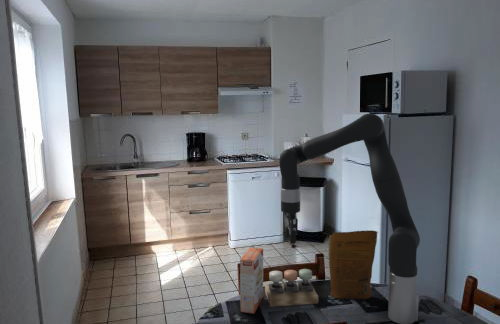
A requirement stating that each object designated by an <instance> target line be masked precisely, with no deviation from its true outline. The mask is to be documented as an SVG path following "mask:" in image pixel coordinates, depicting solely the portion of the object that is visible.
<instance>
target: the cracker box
mask: <svg viewBox="0 0 500 324" xmlns="http://www.w3.org/2000/svg"><path fill="white" fill-rule="evenodd" d="M239 262H240V263H239V272H240V273H239V278H240V279H239V282H240V283H239V285H240V287H239V288H240V289H239V292H240V294H239V295H240V296H239V297H240V299H239V300H240V304H239V305H240V313H245V314H253V315H254V314H255V313H256V311H257V309H259V308H258V307H259V305H261V304H260V303H261V302H262V300H263V298H264V248H262V247H249V248H248V249H247V250H246V252H245V253H244V255H242V257H241V258H240V260H239Z"/></svg>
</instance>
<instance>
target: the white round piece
mask: <svg viewBox="0 0 500 324" xmlns="http://www.w3.org/2000/svg"><path fill="white" fill-rule="evenodd" d="M268 274H269V281H270V282H272V283H273V285H274V286H278V285H279V283H281V282H282V281H283V276H284V275H283V274H284V272H282V271H280V270H272V271H269V273H268Z"/></svg>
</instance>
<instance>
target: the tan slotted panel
mask: <svg viewBox="0 0 500 324" xmlns="http://www.w3.org/2000/svg"><path fill="white" fill-rule="evenodd" d="M264 292H265V296H266V298H267V301H268V304H269V307H284V306H285V307H286V306H287V307H288V306H295V305H296V306H299V305H311V304H319V294H318V293H317V292H316V289H315V288H314V285H313V284H312V282H311V281H310V280H308V284H303V280H302V281H297V282H296V281H294V284H293V285H289V284H288V281H287V282H279V285H278V286H274V285H273V282H272V283H268V284H265V285H264Z"/></svg>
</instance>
